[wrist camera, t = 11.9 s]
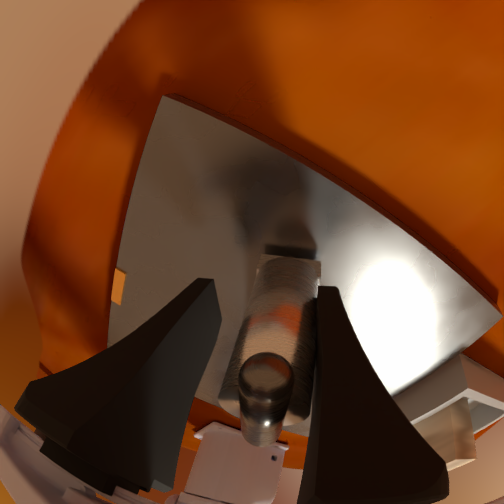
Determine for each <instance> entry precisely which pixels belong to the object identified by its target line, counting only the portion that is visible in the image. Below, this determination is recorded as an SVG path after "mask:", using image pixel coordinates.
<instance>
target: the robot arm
mask: <svg viewBox="0 0 504 504" xmlns="http://www.w3.org/2000/svg"><path fill="white" fill-rule="evenodd" d="M221 323H222V316H221V311H220V306H219V302H218V297H217V292H216V287H215V282H214V279H209V278H197V279H196V280H194V281H193V282H192V283H191V284H190V285H189V286H187V287H186V288H185V289H184V290H183V291H182V292H181V293H179V294H178V295H177V296H176V297H175V298H174V299H173V300H171V301H170V302H169V303H168V304H167V305H166V306H164V307H163V308H162V309H161V310H160V311H158V312H157V313H156V314H155V315H154V316H152V317H151V318H150V319H148V320H147V321H146V322H145V323H143V324H142V325H141V326H139V327H138V328H137V329H136V330H134V331H133V332H132V333H130V334H129V335H127V336H126V337H124V338H123V339H121V340H120V341H118V342H117V343H115V344H114V345H112V346H110V347H109V348H107V349H105V350H104V351H102V352H100V353H98V354H96V355H95V356H93V357H91V358H89V359H87V360H85V361H83V362H81V363H79V364H77V365H75V366H73V367H70V368H68V369H66V370H63V371H61V372H58V373H55V374H53V375H50V376H47V377H44V378H41V379H37V380H34V381H31V382H30V383H29V384H28V386H27V387H26V389H25V391H24V392H23V394H22V396H21V397H20V399H19V400H18V402H17V404H16V405H15V407H14V409H15V411H16V412H17V413H18V414H19V415H20V416H22V417H23V418H24V419H25V420H27V421H28V422H29V423H30V424H31V425H33V426H34V427H35V428H36V429H38V430H39V431H40V432H42V433H43V434H44V435H46V436H47V437H46V439H45V441H43V440H42V438H40V437H39V436H38V435H37V434H35V433H34V432H33V431H31V430H30V429H29V428H28V427H26V426H25V425H24V424H22V423H21V422H20V421H18V420H17V419H16V418H15V417H14V416H13V415H12V414H10V413H9V412H8V411H7V410H6V409H5V408H4V407H3V406H2V405H1V404H0V480H1V482H2V483H3V485H4V486H5V488H6V489H7V491H8V492H9V494H10V495H11V497H12V498H13V500H14V501H15V502H16V504H112V503H109V502H107V501H104V500H102V499H100V498H97V497H96V493H98V494H100V495H102V496H103V497H105V498H107V499H109V500H111V501H113V502H114V503H116V504H159V503H156V502H154V501H151V500H148V499H146V498H144V497H141V496H139V495H137V494H138V492H139V489H141V490H143V491H146V492H149V491H150V489H151V488H153V489H156V490H159V491H161V492H168V491H170V490H172V489H173V485H174V478H175V473H176V466H177V461H178V457H179V452H180V447H181V443H182V439H183V435H184V431H185V427H186V423H187V419H188V416H189V412H190V408H191V405H192V402H193V399H194V396H195V393H196V391H197V388H198V386H199V384H200V381H201V379H202V376H203V374H204V372H205V369H206V367H207V364H208V362H209V360H210V357H211V355H212V352H213V350H214V347H215V345H216V342H217V338H218V334H219V331H220V327H221ZM194 437H196V438H198V439H201V443H200V446H199V449H198V452H197V455H196V458H195V461H194V464H193V466H192V470H191V472H190V475H189V478H188V481H187V484H186V487H185V490H184V492H185V493H183V492H181V493H180V495H178V494H174V495H172V496H170V497H168V499H167V500H166V502H165V504H271V503H272V501H273V500H274V498H275V495H276V493H277V489H278V484H279V479H280V475H281V470H282V464H283V459H284V454H285V450H288V449H289V446H288V445H285V444H281V443H278V442H274V443H273V444H271V445H269V446H266V447H256V446H253V445H251V444H249V443H248V442H247V441H246V440H245V439H244V437H243V435H242V432H241V431H240V430H237V429H234V428H231V427H228V426H226V425H223V424H220V423H218V422H212V423H211V424H209V425H207V426H206V427H204V428H203V429H201V430H199V431H198V432H196V433H194ZM95 492H96V493H95ZM186 493H187V494H186ZM448 495H449V478H448V471H447V466H446V462H445V461H444V459H443V458H442V457H441V456H440V455H439V454H438V453H437V452H436V451H435V450H434V449H433V448H432V447H431V446H430V445H429V444H428V443H427V441H426V440H425V439H424V438H423V437H422V436H421V434H420V433H419V432H418V431H417V430H416V428H415V427H414V426H413V425H412V424H411V422H410V421H409V420H408V418H407V417H406V416H405V414H404V413H403V412H402V410H401V409H400V408H399V406H398V405H397V404H396V402H395V401H394V400H393V398H392V397H391V395H390V394H389V392H388V391H387V389H386V388H385V386H384V385H383V383H382V381H381V380H380V378H379V376H378V375H377V373H376V371H375V370H374V368H373V366H372V364H371V363H370V361H369V359H368V357H367V355H366V353H365V351H364V350H363V348H362V346H361V344H360V342H359V340H358V337H357V335H356V333H355V331H354V329H353V326H352V324H351V322H350V320H349V317H348V315H347V312H346V310H345V307H344V304H343V301H342V298H341V295H340V291H339V289H338V288H337V287H336V286H319V285H318V292H317V308H316V358H315V370H314V382H313V392H312V413H311V423H310V431H309V438H308V445H307V451H306V457H305V464H304V469H303V475H302V480H301V485H300V491H299V495H298V500H297V504H431V503H435V502H437V501H440V500H443V499H445V498H446V497H447V496H448ZM485 504H504V496H503V497H500V498H498V499H496V500H494V501H491V502H489V503H485Z"/></svg>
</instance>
